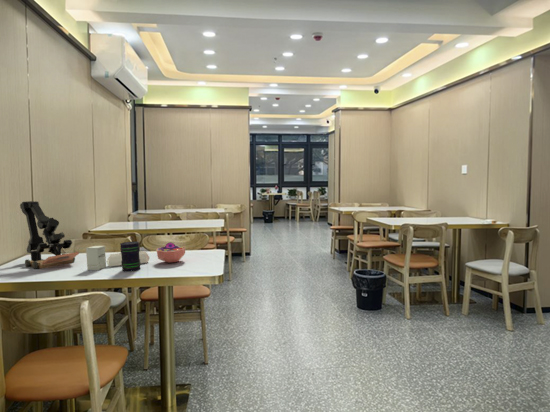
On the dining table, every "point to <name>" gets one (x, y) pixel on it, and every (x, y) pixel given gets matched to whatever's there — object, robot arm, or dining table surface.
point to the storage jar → (130, 256)
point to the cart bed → (39, 264)
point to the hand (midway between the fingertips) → (59, 257)
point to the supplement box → (96, 257)
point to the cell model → (170, 253)
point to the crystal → (117, 258)
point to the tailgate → (60, 258)
